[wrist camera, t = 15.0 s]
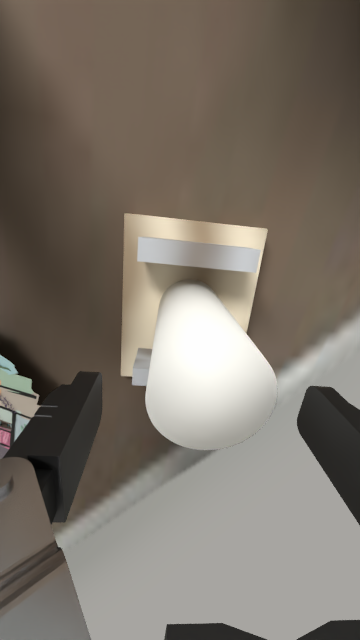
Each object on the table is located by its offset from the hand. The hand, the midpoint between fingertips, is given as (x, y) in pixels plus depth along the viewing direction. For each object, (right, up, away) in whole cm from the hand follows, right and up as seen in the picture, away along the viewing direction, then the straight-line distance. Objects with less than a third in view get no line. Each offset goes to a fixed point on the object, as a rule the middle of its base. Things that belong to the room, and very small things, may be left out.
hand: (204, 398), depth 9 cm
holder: (0, +4, +13) cm, 14 cm away
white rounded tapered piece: (0, +4, +11) cm, 12 cm away
